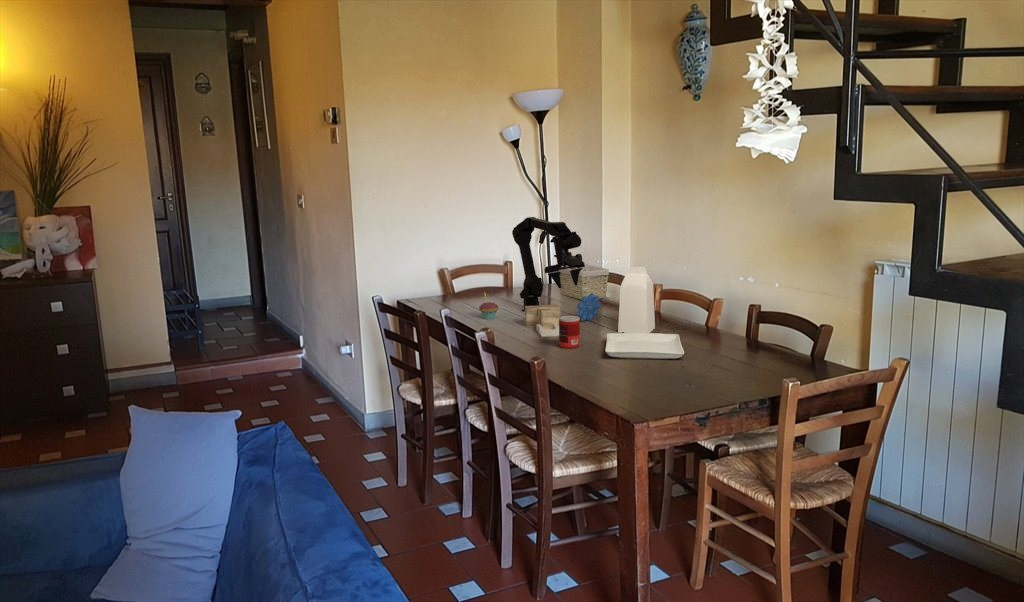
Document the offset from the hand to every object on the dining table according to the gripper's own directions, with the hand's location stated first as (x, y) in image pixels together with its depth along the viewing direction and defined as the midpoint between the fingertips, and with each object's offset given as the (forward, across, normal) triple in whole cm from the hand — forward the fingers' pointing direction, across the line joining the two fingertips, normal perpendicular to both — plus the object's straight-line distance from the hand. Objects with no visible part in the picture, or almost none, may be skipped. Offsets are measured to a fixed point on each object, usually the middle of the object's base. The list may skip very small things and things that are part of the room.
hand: (568, 286), depth 327 cm
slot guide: (+17, -22, -9) cm, 29 cm away
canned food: (+22, -31, -30) cm, 48 cm away
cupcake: (+8, -23, +29) cm, 38 cm away
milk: (+22, +6, -29) cm, 37 cm away
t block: (+15, -17, -1) cm, 23 cm away
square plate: (+28, -15, -52) cm, 61 cm away
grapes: (+16, +4, -4) cm, 17 cm away
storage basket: (+6, +42, +37) cm, 56 cm away
